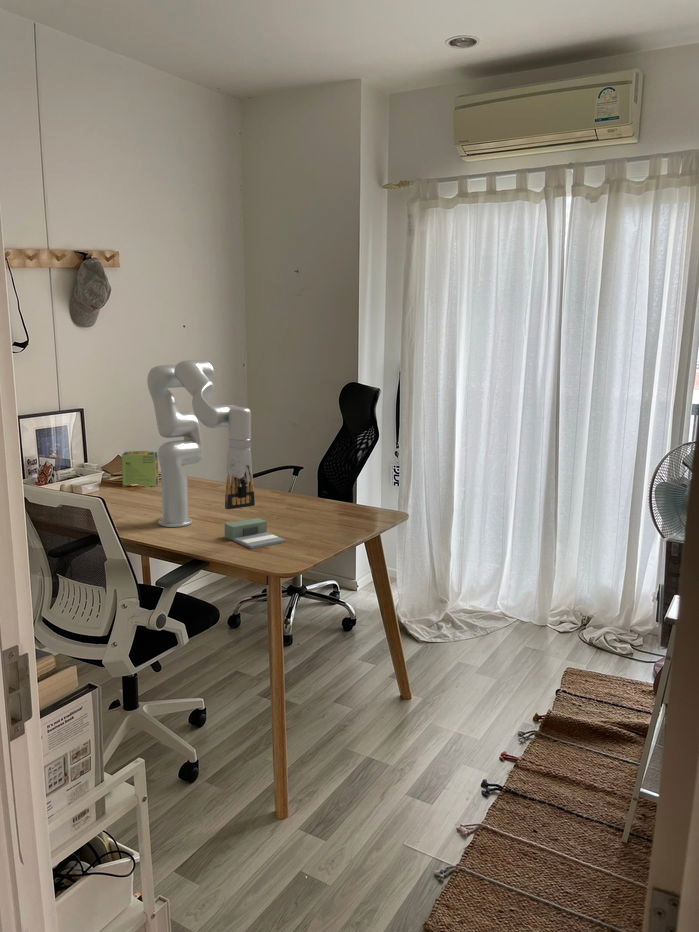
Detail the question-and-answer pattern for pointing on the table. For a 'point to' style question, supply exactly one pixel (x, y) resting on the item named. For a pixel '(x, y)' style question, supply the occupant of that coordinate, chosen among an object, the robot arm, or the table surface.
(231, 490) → the ammunition clip
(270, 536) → the plate with green block
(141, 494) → the table surface
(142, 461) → the protein box
